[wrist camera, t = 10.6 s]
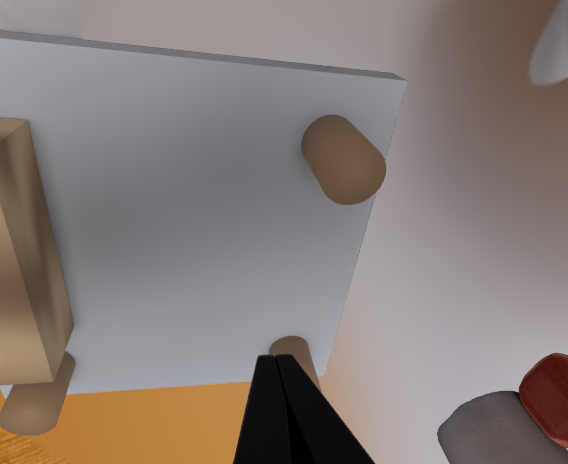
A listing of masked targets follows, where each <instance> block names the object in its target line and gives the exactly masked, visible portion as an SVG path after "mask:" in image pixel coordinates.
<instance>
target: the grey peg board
mask: <svg viewBox="0 0 568 464" xmlns="http://www.w3.org/2000/svg"><path fill="white" fill-rule="evenodd" d="M407 82H408V81H407V80H405V79H403V78H401V77H399V76H397V75H395V74H393V73H386V72H377V71H368V70H358V69H349V68H339V67H331V66H321V65H312V64H302V63H294V62H284V61H275V60H265V59H256V58H247V57H238V56H229V55H219V54H211V53H201V52H192V51H183V50H174V49H165V48H155V47H146V46H137V45H127V44H118V43H109V42H100V41H91V40H82V39H72V38H63V37H54V36H45V35H35V34H26V33H17V32H8V31H0V118H8V119H23V120H27V122H28V126H29V131H30V135H31V139H32V144H33V148H34V152H35V157H36V161H37V166H38V170H39V174H40V179H41V183H42V187H43V192H44V196H45V200H46V205H47V209H48V213H49V218H50V222H51V227H52V231H53V235H54V240H55V244H56V248H57V253H58V257H59V261H60V266H61V270H62V275H63V279H64V283H65V288H66V292H67V296H68V301H69V305H70V309H71V314H72V318H73V322H74V328H73V331H72V333H71V336H70V339H69V342H68V344H67V347H66V350H65V353H64V355H63V358H62V361H61V364H60V366H59V369H58V372H57V375H56V377H55V380H54V382H45V383H30V384H14V385H0V388H1V391H2V393H3V395H4V398H5V399H6V401H5V403H4V406H3V408H2V410H1V412H0V426H1V427H2V428H3V429H5V430H6V431H8V432H11V433H14V434H18V435H39V434H43V433H46V432H48V431H50V430H52V429H53V428H54V427H55V426H56V424H57V421H58V418H59V415H60V412H61V409H62V406H63V403H64V400H65V396H66V395H67V394H82V393H95V392H109V391H123V390H137V389H151V388H165V387H178V386H192V385H207V384H220V383H233V382H247V381H252V378H253V373H254V369H255V364H256V360H257V357H258V356H259V355H268V354H272V355H274V356H275V355H276V354H285V353H290V354H292V355H293V356H294V357H295V359H296V360H297V361H298V363H299V364H300V365H301V367H302V368H303V369H304V371H305V372H306V373H307V375H308V376H309V377H310V378H311V380H312V381H313V382H314V384H315V385H316V386H317V388H318V389H319V390H320V392H321V388H320V385H319V381H318V378H317V377H318V376H324V375H325V372H326V368H327V365H328V361H329V357H330V354H331V350H332V347H333V343H334V340H335V336H336V333H337V329H338V326H339V322H340V319H341V315H342V311H343V308H344V305H345V301H346V298H347V293H348V290H349V287H350V283H351V280H352V276H353V273H354V269H355V265H356V262H357V259H358V255H359V252H360V248H361V244H362V241H363V238H364V234H365V231H366V227H367V223H368V220H369V216H370V213H371V209H372V206H373V202H374V199H375V195H376V192H377V190H378V189H379V188H380V186H381V185H382V182H383V181H384V178H385V174H386V164H385V160H386V156H387V152H388V149H389V146H390V142H391V139H392V135H393V132H394V128H395V125H396V121H397V117H398V114H399V110H400V107H401V104H402V99H403V96H404V93H405V89H406V86H407ZM321 393H322V392H321Z"/></svg>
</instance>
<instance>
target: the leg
mask: <svg viewBox="0 0 568 464" xmlns="http://www.w3.org/2000/svg"><path fill="white" fill-rule="evenodd" d="M73 328H74V322H73V318H72V314H71V309H70V305H69V301H68V296H67V292H66V288H65V283H64V279H63V275H62V270H61V266H60V261H59V257H58V253H57V248H56V244H55V240H54V235H53V231H52V227H51V222H50V218H49V213H48V209H47V205H46V200H45V196H44V192H43V187H42V183H41V179H40V174H39V170H38V166H37V161H36V157H35V152H34V148H33V144H32V139H31V135H30V131H29V126H28V122H27V120H23V119H8V118H0V385H14V384H30V383H45V382H54V380H55V377H56V375H57V372H58V369H59V366H60V364H61V361H62V358H63V355H64V353H65V350H66V347H67V344H68V342H69V339H70V336H71V333H72V331H73Z"/></svg>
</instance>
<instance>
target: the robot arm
mask: <svg viewBox="0 0 568 464" xmlns="http://www.w3.org/2000/svg"><path fill="white" fill-rule="evenodd" d="M233 464H375V463H374V461H373V460H372V459H371V457H370V456H369V455H368V454H367V452H366V451H365V449H364V448H363V447H362V445H361V444H360V443H359V442H358V440H357V439H356V438H355V436H354V435H353V434H352V432H351V431H350V430H349V428H348V427H347V426H346V425H345V423H344V422H343V420H342V419H341V418H340V417H339V415H338V414H337V413H336V411H335V410H334V409H333V407H332V406H331V405H330V404H329V402H328V401H327V400H326V398H325V397H324V396H323V394H322V393H321V392H320V390H319V389H318V388H317V386H316V385H315V384H314V382H313V381H312V380H311V378H310V377H309V376H308V375H307V373H306V372H305V371H304V369H303V368H302V367H301V365H300V364H299V363H298V361H297V360H296V359H295V357H294V356H293V355H292V354H290V353H285V354H276V355H275V356H274V355H272V354H268V355H259V356H258V357H257V360H256V364H255V369H254V373H253V378H252V382H251V387H250V391H249V395H248V400H247V404H246V409H245V413H244V417H243V422H242V426H241V431H240V435H239V439H238V444H237V448H236V453H235V457H234V461H233Z"/></svg>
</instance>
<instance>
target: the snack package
mask: <svg viewBox="0 0 568 464" xmlns="http://www.w3.org/2000/svg"><path fill="white" fill-rule="evenodd" d="M519 394H520V399H521V401H522V404H523V405H524V407H525V408H526V410H527V411H528V412H529V414H530V415H531V416H532V417H533V419H534V420H535V421H536V423H537V424H538V425H539V426H540V427H541V429H542V430H543V431H544V433H545V434H546V435H547V436H548V437H549V438H550V439H552V440H553V441H555V442H556V443H558V444H559V445H561V446H563V447H565V448H568V355H565V354H560V353H554V354H551V355H549V356H546V357H544V358H543V359H541V360H540V361H539V362H538V363H536V364H535V366H534V367H533V368H532V369H531V370H530V371H529V372H528V373H527V374H526V375H525V376H524V378H523V380H522V382H521V384H520V386H519Z"/></svg>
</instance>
